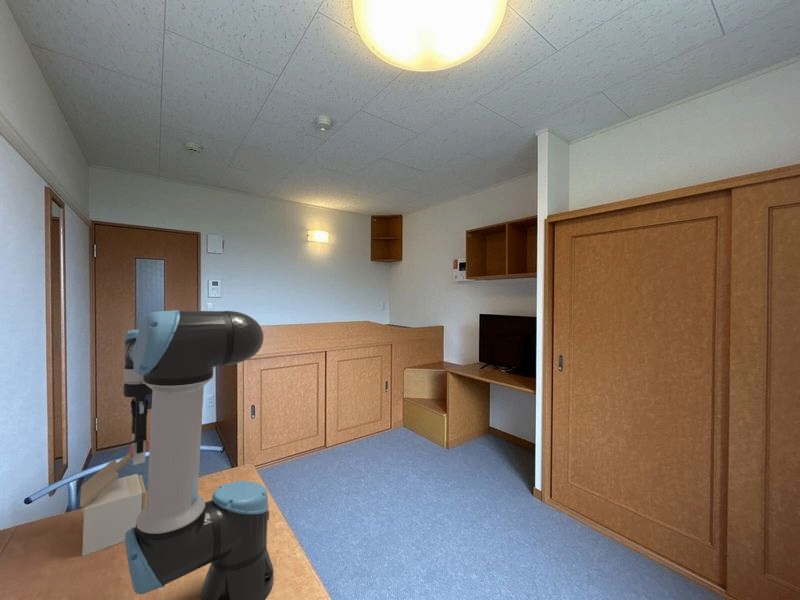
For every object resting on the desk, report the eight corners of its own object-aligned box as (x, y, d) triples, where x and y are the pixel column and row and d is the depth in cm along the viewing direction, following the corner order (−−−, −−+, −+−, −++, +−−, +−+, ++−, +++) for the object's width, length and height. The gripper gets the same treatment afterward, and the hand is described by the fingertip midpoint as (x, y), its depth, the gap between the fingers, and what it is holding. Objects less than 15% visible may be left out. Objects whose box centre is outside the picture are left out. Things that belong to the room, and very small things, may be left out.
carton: (145, 534, 96) (146, 491, 96) (82, 556, 87) (84, 508, 87) (140, 511, 106) (141, 472, 106) (83, 528, 97) (85, 486, 98)
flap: (154, 449, 98) (149, 445, 97) (84, 509, 88) (77, 504, 87) (149, 436, 107) (144, 432, 106) (85, 488, 97) (79, 484, 96)
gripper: (159, 385, 96) (157, 466, 96) (151, 374, 110) (149, 445, 110) (125, 389, 91) (123, 475, 91) (122, 377, 105) (120, 452, 105)
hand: (138, 459), depth 100 cm, fingers closed on flap, 6 cm apart
